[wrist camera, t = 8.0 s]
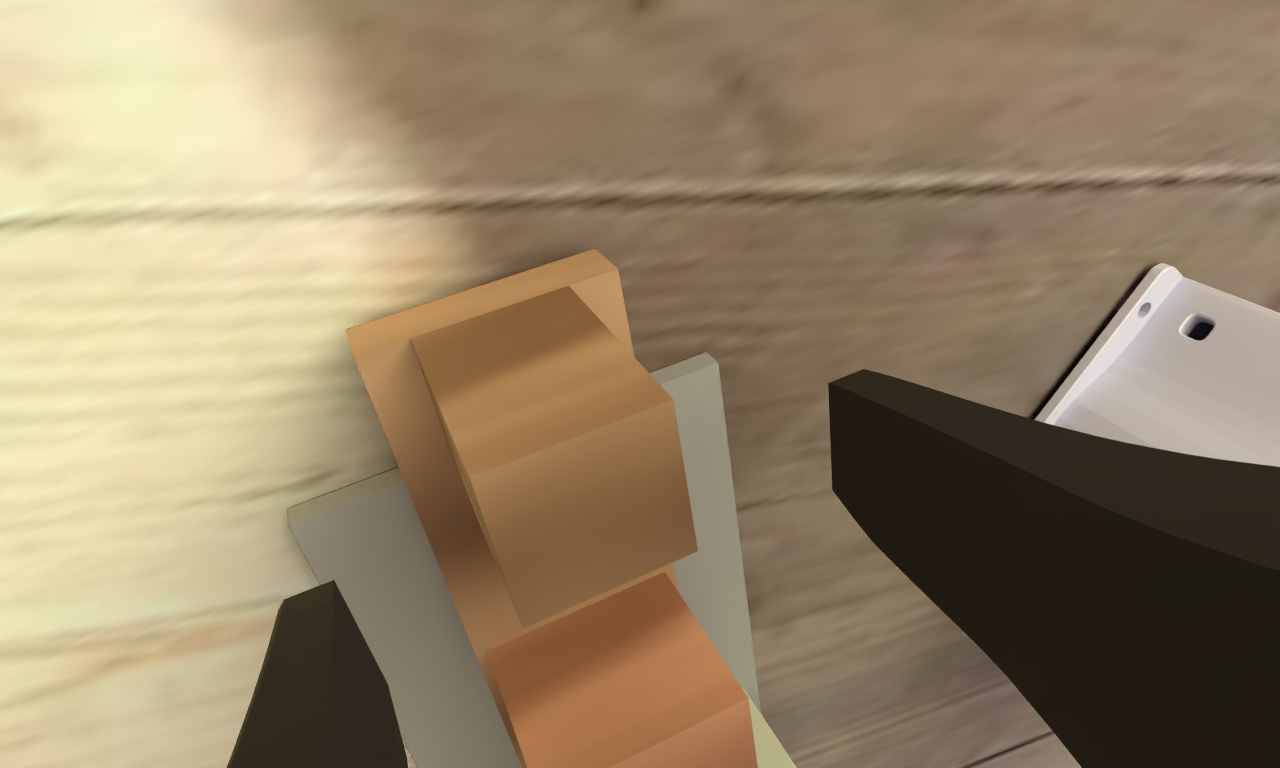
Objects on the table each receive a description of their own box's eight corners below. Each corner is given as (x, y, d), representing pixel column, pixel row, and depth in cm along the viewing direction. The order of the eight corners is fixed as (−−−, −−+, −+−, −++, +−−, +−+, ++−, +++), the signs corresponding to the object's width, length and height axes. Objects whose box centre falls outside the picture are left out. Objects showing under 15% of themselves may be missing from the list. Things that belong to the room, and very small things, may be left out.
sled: (345, 329, 15) (394, 507, 11) (595, 248, 16) (734, 375, 12) (573, 886, 27) (643, 1087, 22) (709, 813, 28) (802, 988, 23)
